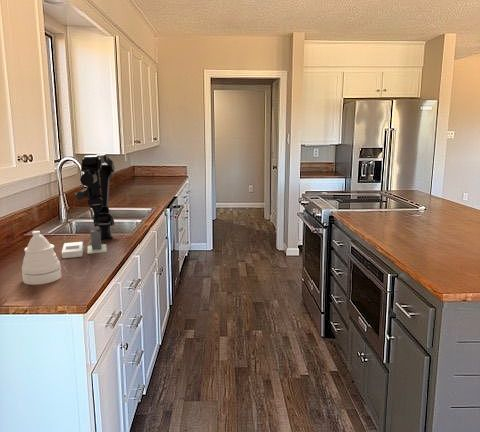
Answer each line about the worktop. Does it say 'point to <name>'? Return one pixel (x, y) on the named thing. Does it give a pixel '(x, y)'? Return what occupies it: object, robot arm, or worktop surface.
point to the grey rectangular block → (96, 239)
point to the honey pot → (40, 261)
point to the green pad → (96, 249)
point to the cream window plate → (72, 250)
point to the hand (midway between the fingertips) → (96, 217)
